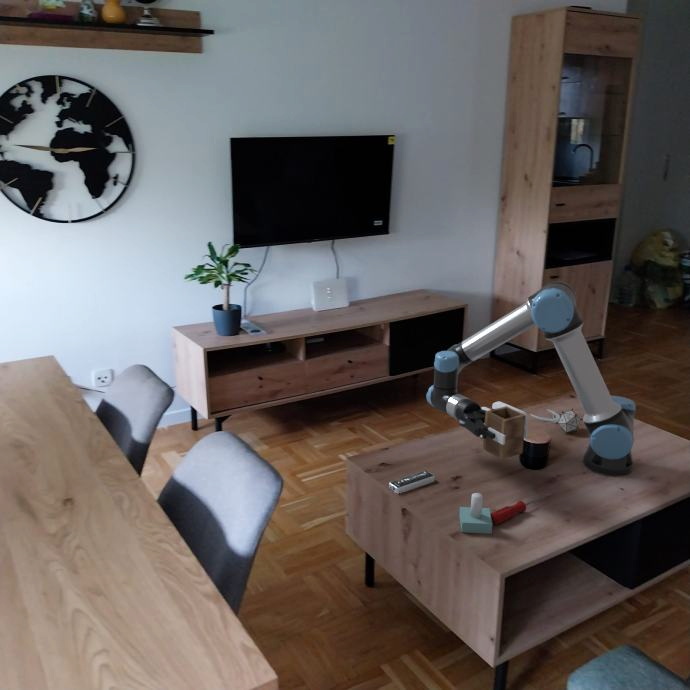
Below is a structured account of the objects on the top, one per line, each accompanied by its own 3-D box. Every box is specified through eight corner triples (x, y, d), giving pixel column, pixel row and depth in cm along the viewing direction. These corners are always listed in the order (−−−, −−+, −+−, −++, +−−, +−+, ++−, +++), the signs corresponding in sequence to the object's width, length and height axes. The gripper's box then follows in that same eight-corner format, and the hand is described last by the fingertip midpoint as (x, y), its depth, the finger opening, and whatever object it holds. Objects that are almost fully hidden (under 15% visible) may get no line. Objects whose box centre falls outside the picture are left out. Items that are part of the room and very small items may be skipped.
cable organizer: (473, 436, 248) (476, 405, 245) (494, 428, 254) (497, 398, 251) (506, 451, 237) (509, 419, 233) (527, 443, 243) (530, 412, 239)
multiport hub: (434, 482, 217) (435, 475, 216) (397, 495, 209) (397, 488, 209) (425, 476, 221) (425, 470, 220) (388, 489, 213) (388, 482, 212)
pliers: (548, 406, 271) (579, 420, 259) (548, 410, 271) (578, 424, 259) (529, 411, 266) (560, 426, 254) (529, 415, 266) (560, 430, 254)
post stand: (488, 517, 197) (490, 489, 195) (491, 533, 190) (494, 504, 187) (459, 516, 198) (461, 487, 195) (461, 532, 190) (463, 502, 188)
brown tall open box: (503, 443, 213) (506, 406, 209) (522, 453, 206) (525, 415, 203) (482, 449, 209) (485, 411, 205) (501, 459, 203) (504, 421, 199)
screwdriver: (555, 500, 207) (557, 489, 206) (497, 527, 193) (498, 516, 192) (546, 495, 210) (547, 484, 209) (487, 521, 196) (488, 510, 195)
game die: (572, 442, 252) (588, 428, 245) (550, 434, 252) (566, 420, 244) (572, 422, 258) (587, 408, 251) (551, 414, 257) (565, 400, 250)
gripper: (488, 414, 227) (541, 440, 208) (436, 427, 217) (486, 457, 198) (490, 392, 224) (543, 417, 206) (437, 405, 214) (488, 432, 196)
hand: (515, 436), depth 202 cm, fingers closed on brown tall open box, 8 cm apart
